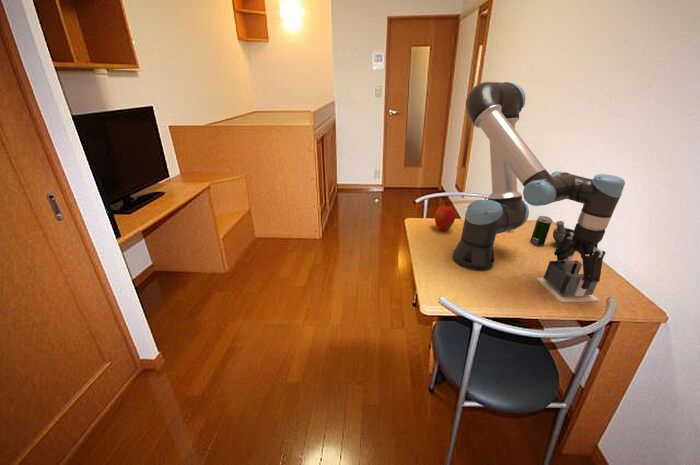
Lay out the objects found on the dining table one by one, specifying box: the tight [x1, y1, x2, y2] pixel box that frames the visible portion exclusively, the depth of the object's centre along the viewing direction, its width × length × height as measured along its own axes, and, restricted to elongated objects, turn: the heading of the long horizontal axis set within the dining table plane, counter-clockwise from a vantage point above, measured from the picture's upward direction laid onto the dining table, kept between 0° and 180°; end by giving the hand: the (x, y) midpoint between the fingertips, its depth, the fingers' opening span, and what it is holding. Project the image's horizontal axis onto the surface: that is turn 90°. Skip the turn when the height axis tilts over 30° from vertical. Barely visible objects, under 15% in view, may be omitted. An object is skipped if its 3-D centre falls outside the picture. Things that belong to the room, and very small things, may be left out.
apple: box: [434, 205, 456, 232], centre depth 146 cm, size 9×9×12 cm
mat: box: [535, 277, 599, 303], centre depth 108 cm, size 13×13×1 cm
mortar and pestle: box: [552, 220, 574, 249], centre depth 134 cm, size 11×9×12 cm
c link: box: [543, 259, 598, 296], centre depth 106 cm, size 10×10×7 cm
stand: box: [564, 252, 575, 261], centre depth 118 cm, size 4×4×9 cm
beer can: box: [530, 215, 552, 247], centre depth 136 cm, size 5×5×12 cm
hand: (567, 285), depth 108 cm, fingers closed on c link, 10 cm apart
